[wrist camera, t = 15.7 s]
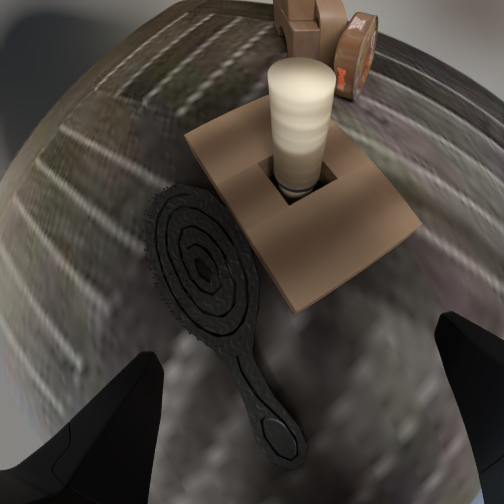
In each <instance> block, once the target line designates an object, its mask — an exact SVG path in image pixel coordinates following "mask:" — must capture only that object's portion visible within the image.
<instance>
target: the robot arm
mask: <svg viewBox="0 0 504 504" xmlns="http://www.w3.org/2000/svg"><path fill="white" fill-rule="evenodd" d="M434 337H435V341H436V344H437V347H438V350H439V353H440V356H441V360H442V363H443V366H444V369H445V373H446V376H447V378H448V381H449V384H450V386H451V389H452V391H453V394H454V396H455V399H456V402H457V405H458V407H459V410H460V413H461V416H462V419H463V422H464V425H465V428H466V431H467V434H468V437H469V441H470V444H471V447H472V451H473V454H474V458H475V462H476V466H477V470H478V474H479V479H480V483H481V488H482V493H483V498H484V504H504V340H503V339H501V338H499V337H497V336H496V335H494V334H492V333H490V332H489V331H487V330H485V329H483V328H482V327H480V326H478V325H476V324H475V323H473V322H471V321H469V320H467V319H466V318H464V317H462V316H460V315H458V314H457V313H455V312H453V311H449V312H445V313H442V314H441V315H440V317H439V320H438V323H437V326H436V329H435V333H434ZM163 381H164V370H163V368H162V366H161V364H160V362H159V360H158V358H157V356H156V354H155V353H154V352H152V351H143V352H140V353H139V354H138V355H137V356H136V357H135V358H134V359H133V360H132V361H131V362H130V363H129V364H128V365H127V366H126V367H125V368H124V369H123V370H122V371H121V372H120V373H119V374H117V375H116V376H115V377H114V378H113V379H112V380H111V381H110V382H109V383H108V384H107V385H106V386H105V387H104V388H103V389H102V390H101V391H100V392H99V393H98V394H97V395H96V396H95V397H94V398H93V399H92V400H91V401H90V402H89V403H88V404H87V405H86V406H85V407H84V408H82V409H81V410H80V411H79V412H78V413H77V414H76V415H75V416H74V417H73V418H72V419H71V420H70V422H68V423H67V424H66V425H65V426H64V427H63V428H62V429H61V430H60V431H59V432H58V433H57V434H55V435H54V436H53V437H52V438H51V439H50V440H49V441H47V442H46V443H45V444H44V445H43V446H42V447H40V448H39V449H38V450H37V451H35V452H34V453H33V454H31V455H30V456H29V457H28V458H26V459H25V460H24V461H22V462H21V463H20V464H18V465H17V466H15V467H13V468H11V469H7V470H0V504H147V503H148V495H149V488H150V481H151V474H152V467H153V460H154V454H155V448H156V442H157V436H158V430H159V425H160V419H161V409H162V394H163Z"/></svg>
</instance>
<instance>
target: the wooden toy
mask: <svg viewBox="0 0 504 504" xmlns="http://www.w3.org/2000/svg"><path fill="white" fill-rule="evenodd" d="M273 8H274V21H275V28H276V30H277V33H278V35H279V36H285V38H286V43H287V50H288V58H292V57H304V58H311V59H314V60H318V61H320V62H322V63H324V64H326V65H327V66H329V67H330V68H331V69H334V56H335V51H336V47H337V44H338V41H339V38H340V36H341V34H342V33H343V31H344V29H345V28H346V26H347V18H346V13H345V9H344V6H343V3H342V1H341V0H273Z"/></svg>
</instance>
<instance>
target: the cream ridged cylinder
mask: <svg viewBox="0 0 504 504" xmlns="http://www.w3.org/2000/svg"><path fill="white" fill-rule="evenodd" d="M335 83H336V76H335V73H334V72H333V70H332V69H331V68H330V67H329V66H327V65H326V64H324V63H322V62H320V61H318V60H314V59H311V58H304V57H292V58H286V59H283V60H280V61H278V62H276V63H274V64H273V65H272V66H271V67H270V68H269V70H268V84H269V97H270V111H271V125H272V141H273V157H274V176H275V179H276V181H277V183H278V184H279V193H280V194H281V195H282V197H283V198H284V200H285V201H287V202H289V203H292V204H293V203H295V202H297V201H299V200H300V199H302V198H304V197H306V196H308V195H309V194H311V193H313V188H314V186H315V185H316V184H317V182H318V181H319V178H320V174H321V165H322V160H323V155H324V149H325V144H326V138H327V133H328V127H329V121H330V115H331V109H332V103H333V97H334V90H335Z"/></svg>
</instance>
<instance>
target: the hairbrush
mask: <svg viewBox="0 0 504 504" xmlns="http://www.w3.org/2000/svg"><path fill="white" fill-rule="evenodd" d="M166 188H168V187H166ZM163 190H165V189H164V188H163ZM155 195H157V194H155ZM151 198H153V197H151ZM148 201H149V200H148ZM149 202H150V201H149ZM152 203H153V204H152V206H151V208H150V210H149V212H148V215H147V217H146V219H145V226H146V232H145V233H146V239H147V251H148V259H146V260H149V263H150V265H151V267H148V269H149V270H150V269H151V268H152V270H153V273H154V276H155V278H156V281H157V283H158V286H159V288H160V291H161V293H162V295H163V298H164V299H162V300H165V303H164V304H167V305H168V307H169V308H170V309H171V311H170V312H173V313H174V314H175V316H176V317H177V318H178V319H177V318H176V320H179V321H180V322H181V323H182V325H183V326H182V327H183V328H186V329H187V330H188V331H189V332H190V333H189V334H191V333H192V334H193V335H194V336H196V337H197V338H198V339H197V340H199V339H200V340H201V341H202V342H204V343H205V344H206V346H209V347H210V348H212V349H213V350H214V351H215V352H216V354H217V355H218V356H219V357H220V358H221V359H222V360H223V361H224V363H225V364H226V365H227V366H228V367H229V368H230V370H231V372H232V375H233V377H234V380H235V382H236V385H237V387H238V390H239V392H240V394H241V397H242V399H243V401H244V404H245V406H246V408H247V411H248V415H249V418H250V421H251V425H252V428H253V432H254V435H255V438H256V442H257V443H258V444H259V446H260V447H261V448H262V450H263V451H264V452H265V454H266V455H267V456H268V458H269V459H270V460H271V461H272V463H275V464H277V465H280V466H282V467H285V468H288V469H290V470H292V469H295V468H298V467H301V466H303V463H304V460H305V457H306V453H307V450H308V447H307V443H306V441H305V438H304V435H303V433H302V431H301V429H300V427H299V425H298V424H297V422H296V421H295V420H294V418H293V417H292V416H291V415H290V414H289V412H288V411H287V410H286V409H285V407H284V406H283V405H282V404H281V403H280V402H279V400H278V399H277V398H276V397H275V396H274V394H273V392H272V391H271V389H270V387H269V385H268V384H267V382H266V380H265V378H264V376H263V374H262V373H261V371H260V369H259V367H258V365H257V363H256V361H255V358H254V355H253V343H254V330H255V326H256V322H257V314H258V311H257V310H258V309H259V307H258V299H259V277H258V273H257V269H256V264H255V261H254V257H253V254H252V251H251V248H250V246H249V243H248V240H247V239H246V237H245V235H244V233H243V232H242V230H241V228H240V227H239V225H238V223H237V222H236V220H235V218H234V217H233V215H232V214H231V213H230V212H229V211H228V209H227V208H226V207H225V206H224V205H223V204H222V203H221V202H219V201H218V200H217V199H216V198H215V197H214V196H213V195H212V194H211V193H210V192H209V191H208V190H206V189H201V188H197V187H192V186H187V185H184V184H175V185H172V187H170V188H168V189H167V190H165V191H163V192H162V193H160V194H158V195H157V196H156V197H155V198H154V201H153V202H152ZM197 210H198V211H197ZM146 212H147V211H146ZM204 214H205V215H204ZM144 215H146V214H145V213H144ZM206 215H207V216H208V217H210V218H212V219H214V220H215V221H216V222H217V223H218V224H219V225H220V226H221V227H222V228H223V230H224V231H225V232H226V233H227V234H228V235H229V236H230V237H231V239H232V240H233V242H234V243H235V245H236V247H237V249H238V251H239V252H240V255H241V259H242V262H243V265H244V268H245V271H246V274H247V277H248V292H249V307H248V311H247V314H246V318H245V321H244V323H243V324H242V325H241V327H240V328H239V329H238V330H237V331H236V332H235V333H234V334H233V335H231V336H215V335H213V334H210V333H208V332H205V331H203V329H202V330H201V329H200V327H198V326H197V325H196V324H195V323H194V322H193V321H192V320H194V321H195V322H197V323H198V324H200V325H201V326H202V327H203V328H204V329H206V330H207V331H210V332H213V333H216V334H222V335H225V334H229V333H231V332H233V331H234V330H235V329H236V328H237V327H238V326H239V324H240V323H241V322H242V320H243V319H244V318H243V317H244V316H245V311H246V302H247V294H246V283H245V278H244V273H243V269H242V266H241V263H240V260H239V257H238V255H237V252H236V250H235V248H234V246H233V244H232V243H231V241H230V240H229V238H228V237H227V236H226V234H225V233H224V232H223V230H222V229H221V228H220V227H219V225H218V224H217V223H215V222H214V221H212V220H211V219H210V218H208V217H207V216H206ZM142 221H144V220H143V219H142ZM198 229H200V230H202V231H203V232H204V233H203V232H201V231H200V230H198ZM143 231H144V230H142V232H143ZM205 233H206V234H205ZM181 236H182V238H181ZM209 236H210V237H211V238H212V239H214V240H215V241H216V242H217V244H218V245H219V246H220V247H221V249H222V250H223V252H224V253H225V255H226V257H227V259H228V262H229V265H230V268H231V270H232V273H233V276H234V279H235V282H236V285H237V289H236V301H235V306H234V308H233V309H232V310H231V311H230V312H229V310H230V309H231V307H232V304H233V302H234V290H235V288H234V284H233V280H232V276H231V274H230V271H229V269H228V266H227V264H226V262H225V259H224V257H223V255H222V253H221V251H220V250H219V248H218V247H217V246H216V245H215V243H214V242H213V241H212V240H211V238H210V237H209ZM143 241H144V242H145V240H143ZM199 245H200V246H202V247H203V248H204V249H206V250H207V251H208V252H209V251H210V253H211V255H212V257H213V259H214V260H215V262H216V264H217V266H218V268H219V269H220V271H221V273H220V275H221V278H222V287H221V288H220V289H219V287H220V286H221V284H220V279H219V273H218V269H217V267H216V266H215V264H214V262H213V261H212V259H211V258H210V256H209V255H208V253H207V252H206V251H205V250H204V249H203V248H201V247H198V246H199ZM180 247H181V251H182V255H183V258H182V255H181V251H180ZM144 251H146V250H145V249H144ZM169 254H170V256H171V259H170V257H169ZM196 259H201V260H202V261H203V262H204V263H205V264H206V267H207V266H208V267H209V268H210V270H211V273H212V274H211V275H209V276H211V280H210V284H209V283H208V282H207V281H205V280H204V279H203V278H202V277H201V275H200V274H199V273H198V272H197V266H196V262H197V261H196ZM171 260H172V261H173V263H174V266H175V268H176V270H177V273H178V275H179V277H178V276H177V273H176V271H175V268H173V267H174V266H173V264H172V262H171ZM184 262H185V264H186V266H187V268H188V269H186V268H185V265H184V264H183V263H184ZM163 270H164V271H163ZM187 270H189V272H190V274H191V275H189V274H188V273H187ZM164 272H165V273H164ZM208 273H209V271H208ZM165 275H166V277H167V280H168V281H166V278H165ZM190 276H192V278H190ZM152 278H154V277H152ZM178 278H180V279H181V282H182V283H183V285H184V286H185V288H186V289H187V291H188V292H189V294H190V295H191V297H192V298H193V300H194V301H195V303H196V304H197V306H199V307H200V308H202V309H204V310H205V311H208V312H210V313H212V314H214V315H217V316H219V315H223V314H226V313H228V312H229V313H228V314H227V315H226V316H225V317H223V318H220V317H215V316H211V315H209V314H207V313H204V312H202V311H200V310H199V309H198V308H197V307H196V305H195V304H194V303H193V302H192V301H191V299H190V298H189V297H188V296H189V294H188V293H187V294H188V296H187V294H186V292H185V290H184V288H183V285H181V283H180V280H179V279H178ZM191 279H194V280H195V282H196V283H197V284H198V285H199V286H200V287H201V288H202V289H203V290H204V291H206V292H210V293H215V292H216V291H217V290H218V289H219V290H218V291H217V292H216V293H215V294H214V295H208V294H206V293H203V292H202V291H201V290H200V289H199V288H197V287H196V286H195V285H194V283H193V281H192V280H191ZM167 282H169V285H170V287H171V290H170V288H169V286H168V284H167ZM154 284H156V283H154ZM155 287H156V288H157V286H155ZM171 291H172V292H173V294H174V295H175V297H176V298H174V296H173V294H172V292H171ZM162 295H161V294H160V296H162ZM175 299H176V300H177V299H178V301H179V302H180V304H181V305H180V306H181V307H183V308H184V309H185V310H186V312H187V313H188V314H187V315H188V316H190V317H191V318H192V319H190V318H189V317H188V316H187V315H186V314H185V313H184V311H183V310H182V309H181V307H180V306H179V304H178V303H177V301H176V300H175ZM173 313H172V315H174V314H173ZM237 356H238V357H239V360H240V364H241V367H242V370H243V373H244V374H245V376H246V377H247V379H248V380H249V382H250V383H251V385H252V386H253V388H254V389H255V391H256V392H257V393H258V395H259V396H260V398H261V399H262V400H263V401H264V402H265V403H266V404H267V405H268V406H269V407H270V408H271V409H273V410H274V411H275V412H276V413H277V414H278V415H279V416H280V417H281V418H282V419H283V420H284V421H285V422H286V423H285V422H283V421H282V420H281V419H280V418H279V417H278V416H277V415H276V414H275V413H274V412H273V411H272V410H271V409H270V408H269V407H268V406H267V405H266V404H265V403H264V402H263V401H262V400H261V399H260V398H259V397H258V396H257V395H256V393H255V392H254V390H253V389H252V387H251V386H250V384H249V382H248V381H247V379H246V378H245V376H244V375H243V373H242V371H241V368H240V365H239V362H238V359H237ZM263 417H264V419H263V427H264V431H265V435H266V436H265V435H264V432H263V429H262V424H261V419H262V418H263ZM289 428H290V429H291V431H292V432H293V434H294V435H295V436H296V438H297V449H298V452H297V453H296V442H295V439H294V437H293V434H292V432H291V431H290V429H289ZM270 443H271V444H272V445H271V444H270ZM273 447H274V448H275V449H274V448H273ZM280 455H281V456H280Z"/></svg>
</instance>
